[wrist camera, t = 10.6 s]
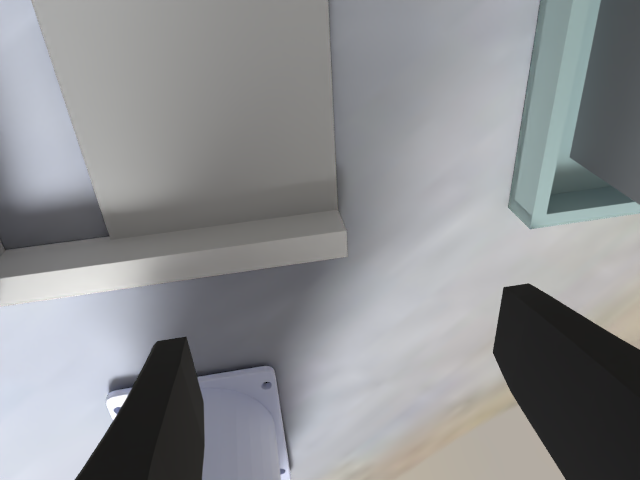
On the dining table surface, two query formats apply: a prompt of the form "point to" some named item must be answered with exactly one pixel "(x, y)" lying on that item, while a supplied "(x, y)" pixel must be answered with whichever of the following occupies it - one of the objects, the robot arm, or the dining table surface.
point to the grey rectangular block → (612, 100)
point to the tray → (559, 126)
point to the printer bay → (190, 142)
